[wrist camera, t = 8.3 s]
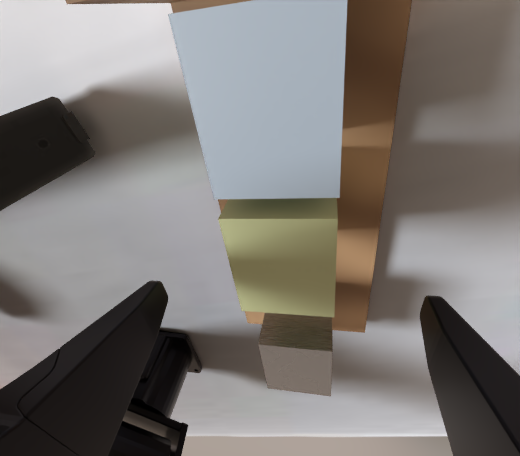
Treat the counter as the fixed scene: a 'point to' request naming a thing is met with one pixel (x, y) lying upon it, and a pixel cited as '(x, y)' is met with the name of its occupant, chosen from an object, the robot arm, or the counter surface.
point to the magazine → (38, 148)
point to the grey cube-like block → (297, 352)
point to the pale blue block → (267, 94)
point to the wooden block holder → (353, 141)
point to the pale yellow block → (283, 254)
